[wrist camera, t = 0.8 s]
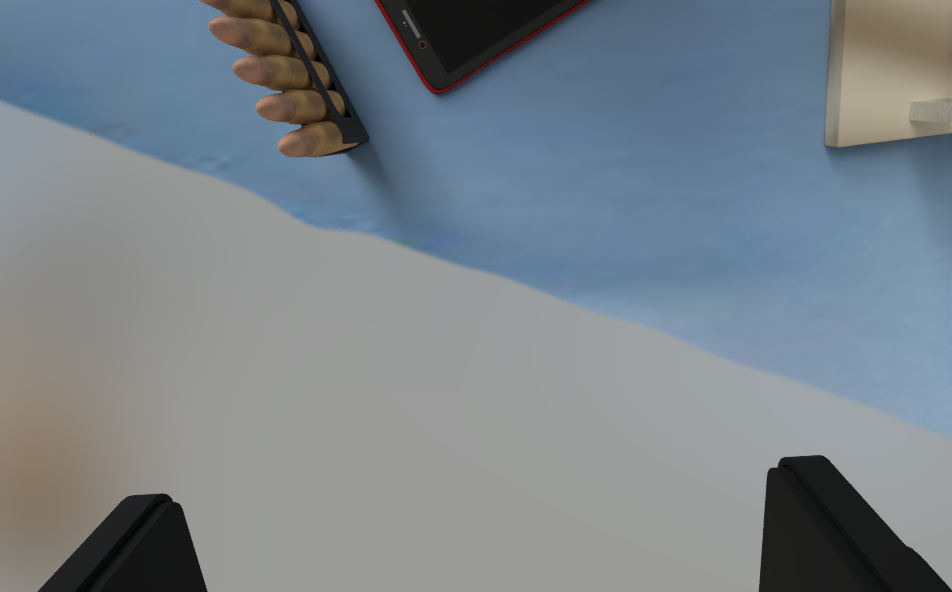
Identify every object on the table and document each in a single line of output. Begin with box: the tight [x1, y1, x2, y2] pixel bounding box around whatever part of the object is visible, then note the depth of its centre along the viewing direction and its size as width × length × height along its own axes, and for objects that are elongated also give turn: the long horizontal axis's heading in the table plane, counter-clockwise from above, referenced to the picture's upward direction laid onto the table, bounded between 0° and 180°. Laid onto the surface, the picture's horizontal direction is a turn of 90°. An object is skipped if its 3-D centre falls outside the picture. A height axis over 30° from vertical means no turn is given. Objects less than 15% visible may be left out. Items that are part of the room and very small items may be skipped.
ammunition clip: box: [200, 0, 369, 157], centre depth 29 cm, size 11×2×12 cm, turn 26°
